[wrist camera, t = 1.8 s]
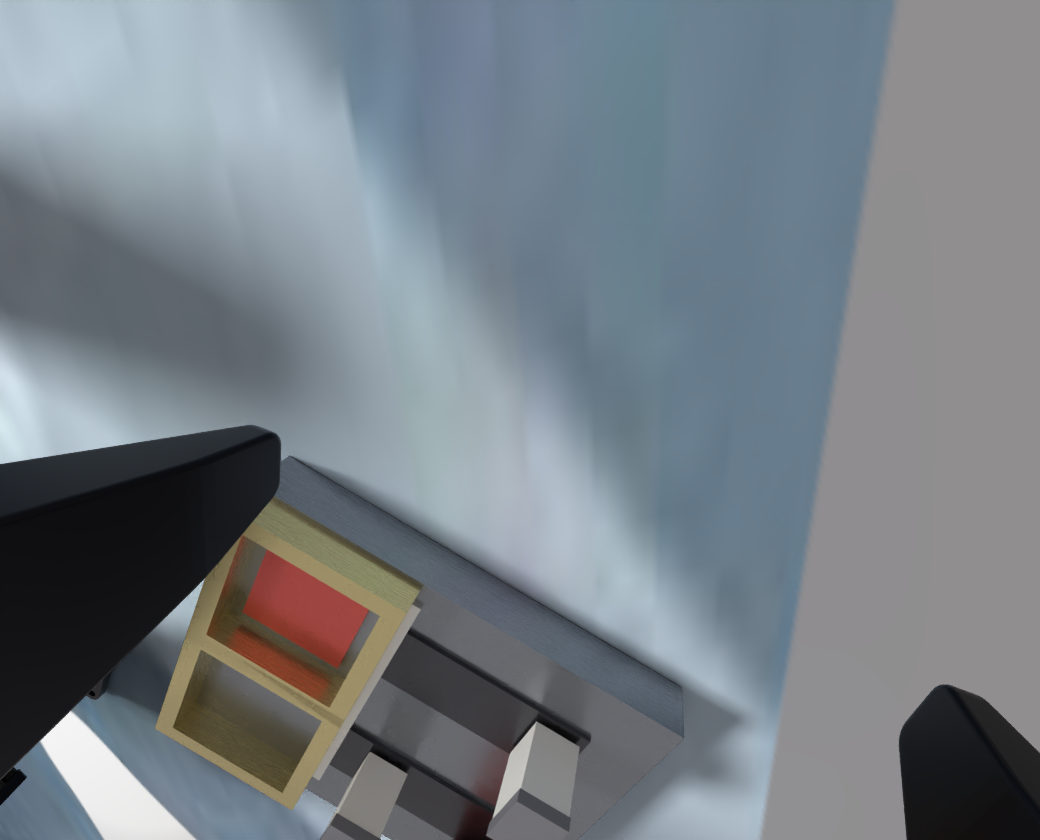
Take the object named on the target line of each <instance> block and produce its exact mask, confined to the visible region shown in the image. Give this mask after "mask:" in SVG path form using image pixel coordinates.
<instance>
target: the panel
mask: <svg viewBox="0 0 1040 840" xmlns="http://www.w3.org/2000/svg"><path fill="white" fill-rule="evenodd" d="M536 722H538V723H540V724H542V725H544V726H545V727H547V728H549V729H550V730H552V731H554V732H555V733H557V734H559V735H560V736H562V737H564V738H565V739H567V740H569V741H571V742H572V743H574V744H576V745H577V746H579V747H580V748H579V755H578V762H577V768H576V775H575V782H574V789H573V795H572V802H571V809H570V816H569V817H570V818H571V822H570V829H569V833H568V834H567V835H566V836H565V837H564V838H563V839H562V840H578V839H579V838H580V837H581V836H582V835H583V834H584V833H585V832H586V831H587V830H588V829H589V828H590V827H591V826H592V825H594V824H595V823H596V822H597V821H598V820H599V819H600V818H601V817H602V816H603V815H604V814H605V813H606V812H607V811H608V810H609V809H610V808H611V807H612V806H613V805H615V804H616V803H617V802H618V801H619V800H620V799H621V798H622V797H623V796H624V795H625V794H626V793H627V792H628V791H629V790H630V789H631V788H632V787H633V786H634V785H636V784H637V783H638V782H639V781H640V780H641V779H642V778H643V777H644V776H645V775H646V774H647V773H648V772H649V771H650V770H651V769H652V768H653V767H654V766H655V765H657V764H658V763H659V762H660V761H661V760H662V759H663V758H664V757H665V756H666V755H667V754H668V753H669V752H670V751H671V750H672V749H673V748H674V747H675V746H676V745H678V744H679V743H680V742H681V741H682V740H683V739H684V726H683V701H682V688H681V687H680V686H678V685H676V684H675V683H673V682H671V681H670V680H668V679H666V678H665V677H663V676H661V675H659V674H658V673H656V672H654V671H653V670H651V669H649V668H648V667H646V666H644V665H643V664H641V663H639V662H637V661H636V660H634V659H632V658H631V657H629V656H627V655H626V654H624V653H622V652H621V651H619V650H617V649H615V648H614V647H612V646H610V645H609V644H607V643H605V642H604V641H602V640H600V639H599V638H597V637H595V636H593V635H592V634H590V633H588V632H587V631H585V630H583V629H582V628H580V627H578V626H576V625H575V624H573V623H571V622H570V621H568V620H566V619H565V618H563V617H561V616H560V615H558V614H556V613H554V612H553V611H551V610H549V609H548V608H546V607H544V606H543V605H541V604H539V603H538V602H536V601H534V600H532V599H531V598H529V597H527V596H526V595H524V594H522V593H521V592H519V591H517V590H516V589H514V588H512V587H510V586H509V585H507V584H505V583H504V582H502V581H500V580H499V579H497V578H495V577H494V576H492V575H490V574H488V573H487V572H485V571H483V570H482V569H480V568H478V567H477V566H475V565H473V564H472V563H470V562H468V561H466V560H465V559H463V558H461V557H460V556H458V555H456V554H455V553H453V552H451V551H450V550H448V549H446V548H444V547H443V546H441V545H439V544H438V543H436V542H434V541H433V540H431V539H429V538H427V537H426V536H424V535H422V534H421V533H419V532H417V531H416V530H414V529H412V528H411V527H409V526H407V525H405V524H404V523H402V522H400V521H399V520H397V519H395V518H394V517H392V516H390V515H389V514H387V513H385V512H383V511H382V510H380V509H378V508H377V507H375V506H373V505H372V504H370V503H368V502H367V501H365V500H363V499H361V498H360V497H358V496H356V495H355V494H353V493H351V492H350V491H348V490H346V489H345V488H343V487H341V486H339V485H338V484H336V483H334V482H333V481H331V480H329V479H328V478H326V477H324V476H323V475H321V474H319V473H317V472H316V471H314V470H312V469H311V468H309V467H307V466H306V465H304V464H302V463H301V462H299V461H297V460H295V459H294V458H292V457H290V456H288V457H287V458H285V459H284V460H283V461H281V470H280V484H279V487H278V490H277V492H276V494H275V495H274V497H273V498H272V499H271V501H270V502H269V503H268V504H267V505H266V507H265V508H264V509H263V510H262V511H261V513H260V514H259V515H258V516H257V517H256V519H255V520H254V521H253V522H252V523H251V525H250V526H249V527H248V528H247V529H246V531H245V532H244V533H243V534H242V535H241V537H240V538H239V539H238V540H237V541H236V543H235V544H234V545H233V546H232V547H231V549H230V550H229V551H228V552H227V553H226V555H225V556H224V557H223V558H222V559H221V561H220V562H219V563H218V564H217V565H216V566H215V568H214V569H213V570H212V571H211V572H210V573H209V574H208V575H207V577H206V578H205V581H204V583H203V586H202V589H201V592H200V595H199V598H198V601H197V604H196V607H195V610H194V613H193V616H192V619H191V622H190V625H189V628H188V631H187V634H186V637H185V640H184V643H183V646H182V649H181V652H180V655H179V658H178V661H177V664H176V667H175V670H174V673H173V676H172V679H171V682H170V685H169V688H168V691H167V694H166V697H165V700H164V703H163V706H162V709H161V712H160V715H159V718H158V721H157V724H156V727H155V729H157V730H158V731H160V732H162V733H163V734H165V735H167V736H168V737H170V738H172V739H173V740H175V741H177V742H178V743H180V744H182V745H183V746H185V747H187V748H188V749H190V750H192V751H193V752H195V753H197V754H199V755H200V756H202V757H204V758H205V759H207V760H209V761H210V762H212V763H214V764H215V765H217V766H219V767H220V768H222V769H224V770H225V771H227V772H229V773H230V774H232V775H234V776H235V777H237V778H239V779H240V780H242V781H244V782H245V783H247V784H249V785H250V786H252V787H254V788H255V789H257V790H259V791H260V792H262V793H264V794H265V795H267V796H269V797H270V798H272V799H274V800H276V801H277V802H279V803H281V804H282V805H284V806H286V807H287V808H289V809H291V810H293V808H294V806H295V805H296V803H297V801H298V800H299V798H300V796H301V795H302V793H303V791H304V790H305V788H306V789H308V790H309V791H311V792H313V793H314V794H316V795H318V796H319V797H321V798H323V799H324V800H326V801H328V802H329V803H331V804H333V805H334V806H336V807H338V805H339V803H340V801H341V800H342V798H343V796H344V794H345V792H346V790H347V788H348V786H349V784H350V782H351V781H352V779H353V777H354V776H355V774H356V772H357V771H358V769H359V768H360V766H361V765H362V763H363V761H364V760H365V758H366V757H367V755H368V754H369V752H371V753H373V754H375V755H377V756H378V757H380V758H382V759H383V760H385V761H387V762H388V763H390V764H392V765H393V766H395V767H397V768H398V769H400V770H402V771H403V772H405V773H407V774H408V775H407V777H406V779H405V781H404V784H403V786H402V788H401V791H400V793H399V795H398V798H397V800H396V802H395V805H394V807H393V809H392V811H391V814H390V816H389V818H388V821H387V823H386V825H385V828H384V830H383V832H382V834H383V835H385V836H386V837H388V838H390V839H391V840H493V839H491V838H489V837H488V836H486V834H487V831H488V827H489V823H490V821H491V820H492V819H493V815H494V811H495V807H496V804H497V800H498V796H499V793H500V789H501V785H502V781H503V778H504V774H505V770H506V767H507V763H508V759H509V755H510V753H511V752H512V751H513V749H514V748H515V747H516V746H517V745H518V743H519V742H520V741H521V740H522V739H523V737H524V736H525V735H526V734H527V733H528V731H529V730H530V729H531V728H532V727H533V725H534V724H535V723H536Z"/></svg>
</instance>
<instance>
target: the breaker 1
mask: <svg viewBox="0 0 1040 840" xmlns="http://www.w3.org/2000/svg"><path fill="white" fill-rule="evenodd" d="M407 775H408V774H407V773H405V772H403V771H402V770H400V769H398V768H397V767H395V766H393V765H392V764H390V763H388V762H387V761H385V760H383V759H382V758H380V757H378V756H377V755H375V754H373V753H371V752H369V754H368V755H367V757H366V758H365V760H364V761H363V763H362V765H361V766H360V768H359V769H358V771H357V772H356V774H355V776H354V777H353V779H352V781H351V782H350V784H349V786H348V788H347V790H346V792H345V794H344V796H343V798H342V800H341V801H340V803H339V805H338V807H337V809H336V811H335V813H334V815H333V817H332V819H331V821H330V822H329V824H328V826H327V828H326V830H325V832H324V833H323V835H322V836H321V838H320V839H319V840H381V839H380V837H381V834H382V832H383V830H384V828H385V825H386V823H387V821H388V818H389V816H390V814H391V811H392V809H393V807H394V805H395V802H396V800H397V798H398V795H399V793H400V791H401V788H402V786H403V784H404V781H405V779H406V777H407Z"/></svg>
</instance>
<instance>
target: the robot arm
mask: <svg viewBox="0 0 1040 840" xmlns="http://www.w3.org/2000/svg"><path fill="white" fill-rule="evenodd" d="M280 470H281V441H280V438H279V436H278V435H277V434H276V433H274V432H272V431H269V430H266V429H264V428H261V427H258V426H255V425H246V426H239V427H233V428H227V429H220V430H214V431H208V432H201V433H195V434H189V435H182V436H176V437H170V438H163V439H157V440H151V441H144V442H138V443H132V444H125V445H119V446H113V447H106V448H100V449H94V450H87V451H81V452H75V453H68V454H62V455H56V456H49V457H43V458H37V459H30V460H24V461H18V462H11V463H5V464H0V805H1V804H2V803H3V802H4V801H5V800H6V799H7V798H8V797H9V796H10V795H11V794H12V793H13V792H14V791H15V790H16V788H17V787H18V786H19V785H20V784H21V783H22V782H23V781H24V780H25V779H26V778H27V776H26V775H25V774H24V773H23V772H22V771H21V770H20V769H18V770H16V769H15V768H14V766H15V765H16V764H17V763H18V762H19V761H20V760H21V759H22V758H23V757H24V756H25V755H26V754H27V753H28V752H29V751H30V750H31V749H32V748H33V747H34V746H35V745H36V744H37V743H38V742H39V741H40V740H41V739H42V738H43V737H44V736H45V735H46V734H47V733H49V732H50V731H51V730H52V728H54V727H55V725H57V724H58V723H59V722H60V721H61V720H62V719H63V718H64V717H65V716H66V715H67V714H68V713H69V712H70V711H71V710H72V709H73V708H74V707H75V706H76V705H77V704H78V703H79V702H80V701H81V700H82V699H83V698H84V697H85V696H88V697H89V698H91V699H95V700H96V699H98V698H99V697H101V696H102V695H103V694H104V693H105V690H106V686H107V682H108V678H109V674H110V672H111V671H112V670H113V669H114V668H115V667H116V666H117V665H118V664H119V663H120V662H121V661H122V660H123V659H124V658H125V657H126V656H127V655H128V654H129V653H130V652H131V651H132V650H133V649H134V648H135V647H136V646H137V645H138V644H139V643H140V642H141V641H142V640H143V639H144V638H145V637H146V636H147V635H148V634H149V633H150V632H151V631H152V630H153V629H154V628H155V627H156V626H157V625H158V624H159V623H160V622H161V621H162V620H163V619H164V618H165V617H166V616H168V615H169V614H170V613H171V612H172V611H173V610H174V609H175V608H176V607H177V606H178V605H179V604H180V603H181V602H182V601H183V600H184V599H185V598H186V597H187V596H188V595H189V594H190V593H191V592H192V591H193V590H194V589H195V588H196V587H197V586H198V585H199V584H200V583H201V582H202V581H203V580H204V579H205V578H206V577H207V575H208V574H209V573H210V572H211V571H212V570H213V569H214V568H215V566H216V565H217V564H218V563H219V562H220V561H221V559H222V558H223V557H224V556H225V555H226V553H227V552H228V551H229V550H230V549H231V547H232V546H233V545H234V544H235V543H236V541H237V540H238V539H239V538H240V537H241V535H242V534H243V533H244V532H245V531H246V529H247V528H248V527H249V526H250V525H251V523H252V522H253V521H254V520H255V519H256V517H257V516H258V515H259V514H260V513H261V511H262V510H263V509H264V508H265V507H266V505H267V504H268V503H269V502H270V501H271V499H272V498H273V497H274V495H275V494H276V492H277V490H278V487H279V484H280ZM899 752H900V765H901V777H902V789H903V801H904V813H905V825H906V837H907V840H1040V753H1039V752H1038V751H1037V750H1036V749H1035V748H1034V747H1033V746H1032V745H1031V744H1030V743H1029V742H1028V741H1027V740H1026V739H1025V738H1024V737H1023V736H1022V735H1021V734H1020V733H1019V732H1018V731H1017V730H1016V729H1015V728H1014V727H1013V726H1012V725H1011V724H1010V723H1009V722H1008V721H1007V720H1006V719H1005V718H1004V717H1003V716H1002V715H1001V714H1000V713H999V712H998V711H997V710H996V709H994V708H993V707H992V706H991V705H990V704H989V703H988V702H987V701H986V700H985V699H983V698H982V697H980V696H978V695H975V694H973V693H970V692H967V691H965V690H962V689H959V688H956V687H954V686H951V685H939V686H937V687H935V688H934V689H933V690H932V691H931V692H930V694H929V695H928V696H927V697H926V698H925V700H924V701H923V702H922V703H921V704H920V705H919V707H918V708H917V709H916V710H915V711H914V713H913V714H912V715H911V716H910V717H909V719H908V720H907V721H906V722H905V724H904V725H903V727H902V730H901V733H900V738H899Z"/></svg>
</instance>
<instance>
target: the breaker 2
mask: <svg viewBox="0 0 1040 840" xmlns="http://www.w3.org/2000/svg"><path fill="white" fill-rule="evenodd" d="M579 748H580V747H579V746H577V745H576V744H574V743H572V742H571V741H569V740H567V739H565V738H564V737H562V736H560V735H559V734H557V733H555V732H554V731H552V730H550V729H549V728H547V727H545V726H544V725H542V724H540V723H538V722H536V723H535V724H534V725H533V727H532V728H531V729H530V730H529V731H528V733H527V734H526V735H525V736H524V737H523V739H522V740H521V741H520V742H519V743H518V745H517V746H516V747H515V748H514V749H513V751H512V752H511V753H510V755H509V759H508V763H507V767H506V770H505V774H504V778H503V781H502V785H501V789H500V793H499V796H498V800H497V804H496V807H495V811H494V815H493V819H492V820H491V821H490V823H489V827H488V831H487V834H486V836H488V837H489V838H491V839H493V840H562V839H563V838H564V837H565V836H566V835H567V834H568V833H569V829H570V822H571V818H570V817H569V816H570V809H571V802H572V795H573V789H574V782H575V775H576V768H577V762H578V755H579Z"/></svg>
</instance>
